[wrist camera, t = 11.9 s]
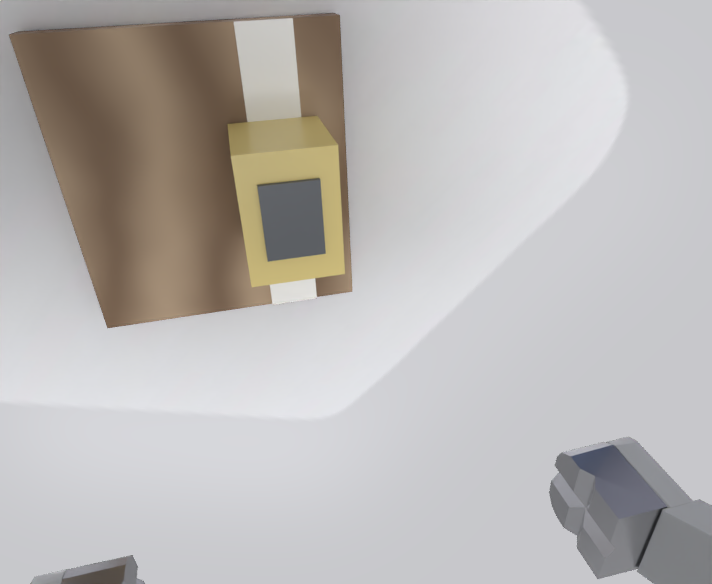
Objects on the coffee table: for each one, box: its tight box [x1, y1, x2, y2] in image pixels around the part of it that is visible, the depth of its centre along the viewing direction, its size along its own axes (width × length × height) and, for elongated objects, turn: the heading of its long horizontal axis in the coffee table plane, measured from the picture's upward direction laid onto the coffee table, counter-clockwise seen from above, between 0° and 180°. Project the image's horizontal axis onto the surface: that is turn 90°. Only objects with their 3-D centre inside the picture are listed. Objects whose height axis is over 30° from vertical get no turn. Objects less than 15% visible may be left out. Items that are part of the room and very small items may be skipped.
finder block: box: [228, 116, 345, 287], centre depth 29 cm, size 5×7×6 cm
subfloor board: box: [9, 13, 352, 328], centre depth 32 cm, size 16×17×2 cm
